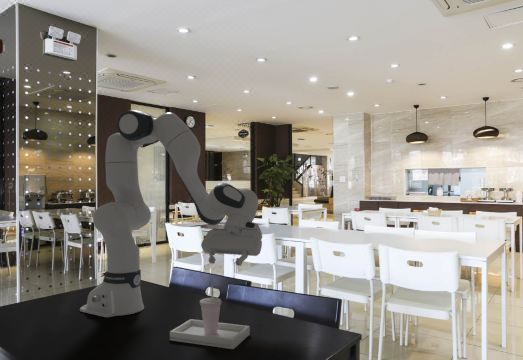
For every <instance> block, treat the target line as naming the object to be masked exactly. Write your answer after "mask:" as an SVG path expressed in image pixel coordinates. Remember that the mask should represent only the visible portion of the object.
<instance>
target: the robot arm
mask: <svg viewBox="0 0 523 360" xmlns="http://www.w3.org/2000/svg"><path fill="white" fill-rule="evenodd" d="M116 128H117V131H118V132H116V133H113V134H111V135H109V136H108V138H107V141H106V146H105V147H106V148H105V184H106V186H107V188H108V189H109V190H110V192H111V193H112V195H113V197H114V201H111V202H107V203H105V204H103V205H100V206H99V207H97V208H96V210H95V211H94V213H93V215H92V216H93V217H92V222H93V225H94V228H95V229H96V230H97V231H98V232H99V233H100V234H101V235H102V239H103V240H104V243H105V247H106V248H105V249H106V262H107V263H106V264H107V266H106V267H107V268H106V271H105V272H103V273H101V276H100V277H101V278H102V277H103V279H102V282H100V283H99V284H98V285H97V286H96V287H94V288H93V289H92V290H91V291H90V292H89V293H88V295H87V301H86V304H84V305H82V306H81V307H80V308H79V311H80V312H82V313H86V314H90V315H95V316H98V317H102V318H103V317H104V318H111V317H118V316H126V315H131V314H135V313H136V314H137V313H139V312H141V311H144V309H145V306H144V302H143V298H142V292H141V279H142V274H141V273H142V270H141V268H140V252H141V251H140V247H139V246H138V245H137V244H136V243H135V240H134V237H133V232H132V231H137V230H140V229H142V228H143V227H145V226H146V225H148V224H149V222H150V220H151V217H152V212H151V209H150V207H149V206H148V205H147V204H146V202H145V201H144V198H143V194H142V192H141V187H140V183H139V170H138V169H139V168H138V150H139V149H140V148H141V149H142V148H143V149H144V148H146V147H147V146H151V145H154V144H156V143H158V142H160V143H161V145H162V146H163V147H164V149H165V150H166V152H167V154H169V156H170V157H171V160H172V163H173V164H174V166H175V170H176V174H177V175H178V178H179V180H180V181H181V184H183V186H184V188H185V190H186V192H187V193H188V195H189V197H190V199H191V200H192V202H193V204H194V207H195V210H196V213H197V216H198V218H199V219H200V220H201V221H203V223H205V224H207V225H212V226H215V225H218V224H220V223H221V222H222V221H223V220H224V218H225V217H226V216H227V219H226V220H225V223H224V226H223V228H212V229H210V230H209V229H208V231H207V233H206V235H205V236H204V238H203V239H202V241H201V244H200V246H201V249H202V250H203V252H204V253H206V254H208V255H209V258H208V263H209V264H212V265H214V264H215V263H216V260H217V259H216V257H215V256H216V255H215V254H221V255H222V254H223V255H233V256H236V255H237V256H240V257H236V260H235V265H236V266H239V267H240V266H242V264H243V262H244V261H246V259H248V257H249V256H253V257H257V256H259V255H260V254H261V251H262V246H263V242H262V239H263V233H262V229H261V228H260V225H259V224H258V223H255V222H254V220H255V218H256V215H257V212H258V207H259V198H258V195H257V194H256V193H255V192H254V191H253V190H251V189H249V188H236V187H235V186H233V185H232V184H229V183H227V182H221V183H218V184H216V185H215V186H214V187H213V189H211V190H210V192H209V193H208V191H207V190H206V187H205V186H204V185H203V183H202V181H201V179H200V177H199V174H198V166H199V159H200V157H201V156H200V155H201V144H200V142H199V140H198V138H197V136H196V135H195V134H194V132H193V131H192V130H191V129H190V127H189V126H188V125H187V124H186V123H185V122H184V121H183V119H181V118H180V117H179V116H178V115H177V114H175V113H174V112H165V113H162V114H161V115H159V116H158V117H155V116H154V115H151V114H149V113H147V112H142V111H140V110H136V109H134V110H133V109H130V110H126V111H123V112H122V113H121V114H120V115H119V116H118V118H117V121H116Z"/></svg>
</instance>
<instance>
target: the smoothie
mask: <svg viewBox="0 0 523 360" xmlns="http://www.w3.org/2000/svg"><path fill="white" fill-rule="evenodd" d="M210 292H211V297H206V298H205V297H204V298H202V299H200V300H199V305H200V308H201V316H202V317H201V318H202V320H203V326H204V333H205V335H209V336H211V335H216V334H217V330H218V322H219V319H220V310H221V305H222V299H221V298H218V297H214V285H211V289H210Z"/></svg>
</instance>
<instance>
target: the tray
mask: <svg viewBox="0 0 523 360" xmlns="http://www.w3.org/2000/svg"><path fill="white" fill-rule="evenodd" d="M250 326H251V325H245V324H244V325H242V324H237V323H236V324H234V323H227V322H226V323H225V322H219V321H218V330H217V334H216V335H211V336H209V335H205V333H204V326H203V319H202V320H200V319H191V318H190V319H188V320H186V321H185V322H184V323H181V325H178V326H177V327H175V328H174V329H171V330H170V331H169V341H173V342H179V343H186V344H187V343H188V344H194V345H202V346H208V347H209V346H210V347H217V348H222V349H229V350H234V349H235V348H237V347H238V346H239V345H240V344H241V343H242V342H243V341H244V340H246V338H248V337H249V336H250V333H251V332H250V331H251V330H250V329H251V328H250Z"/></svg>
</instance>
